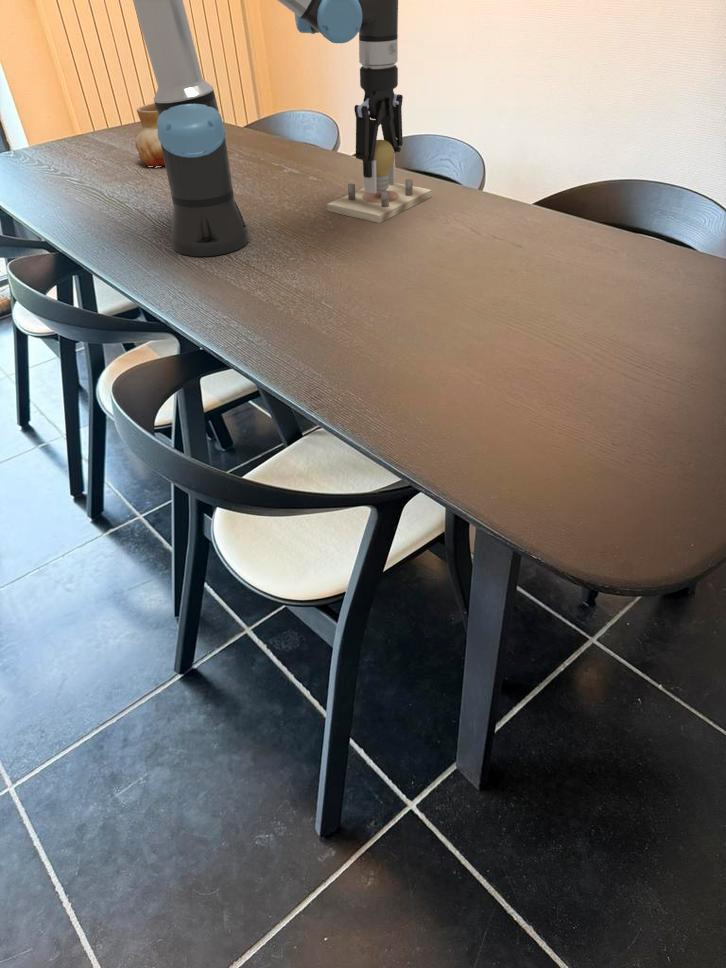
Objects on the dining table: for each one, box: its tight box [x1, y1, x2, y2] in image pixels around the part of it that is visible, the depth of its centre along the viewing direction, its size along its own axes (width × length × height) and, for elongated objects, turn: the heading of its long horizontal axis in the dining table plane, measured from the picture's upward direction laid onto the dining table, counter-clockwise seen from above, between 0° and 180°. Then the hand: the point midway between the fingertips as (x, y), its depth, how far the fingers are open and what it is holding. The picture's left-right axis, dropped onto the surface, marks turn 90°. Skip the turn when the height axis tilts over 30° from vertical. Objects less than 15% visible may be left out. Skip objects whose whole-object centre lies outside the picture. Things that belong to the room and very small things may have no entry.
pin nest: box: [326, 178, 433, 224], centre depth 147 cm, size 20×14×4 cm
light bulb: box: [368, 139, 395, 191], centre depth 144 cm, size 6×6×10 cm
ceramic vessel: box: [134, 102, 165, 167], centre depth 179 cm, size 14×26×15 cm, turn 149°
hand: (380, 187), depth 147 cm, fingers closed on light bulb, 6 cm apart
